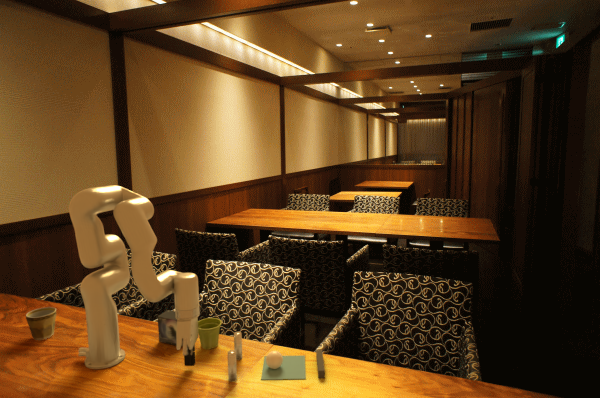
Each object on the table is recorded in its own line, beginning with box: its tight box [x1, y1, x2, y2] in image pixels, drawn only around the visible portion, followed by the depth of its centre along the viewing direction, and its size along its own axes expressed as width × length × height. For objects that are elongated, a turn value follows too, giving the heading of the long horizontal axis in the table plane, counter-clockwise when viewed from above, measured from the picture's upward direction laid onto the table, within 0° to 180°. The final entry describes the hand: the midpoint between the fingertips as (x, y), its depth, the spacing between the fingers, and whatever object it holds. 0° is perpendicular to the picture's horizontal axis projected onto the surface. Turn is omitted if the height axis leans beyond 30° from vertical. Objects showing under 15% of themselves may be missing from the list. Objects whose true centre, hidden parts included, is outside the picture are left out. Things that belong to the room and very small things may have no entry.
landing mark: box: [260, 355, 307, 381], centre depth 131 cm, size 14×14×1 cm
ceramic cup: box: [25, 306, 57, 341], centre depth 155 cm, size 13×10×10 cm
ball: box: [266, 350, 283, 369], centre depth 131 cm, size 6×6×6 cm
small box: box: [157, 309, 183, 347], centre depth 150 cm, size 11×6×10 cm, turn 68°
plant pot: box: [198, 317, 223, 350], centre depth 146 cm, size 9×9×9 cm
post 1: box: [227, 349, 238, 383], centre depth 124 cm, size 3×3×9 cm
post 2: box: [233, 331, 243, 361], centre depth 137 cm, size 3×3×9 cm
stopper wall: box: [315, 349, 326, 379], centre depth 131 cm, size 2×13×2 cm, turn 1°
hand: (190, 364), depth 131 cm, fingers closed
